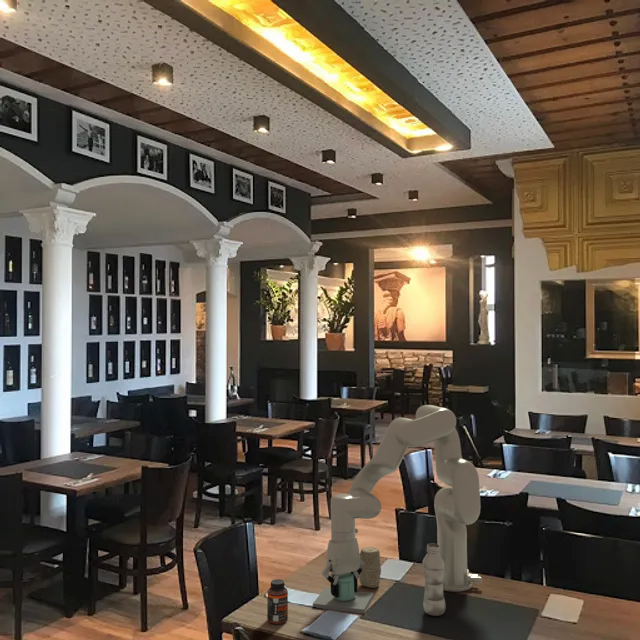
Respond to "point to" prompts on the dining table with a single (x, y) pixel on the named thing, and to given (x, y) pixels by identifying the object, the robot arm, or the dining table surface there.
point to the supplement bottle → (277, 602)
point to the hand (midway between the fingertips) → (344, 593)
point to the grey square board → (353, 605)
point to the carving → (370, 567)
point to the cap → (346, 587)
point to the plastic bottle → (433, 581)
